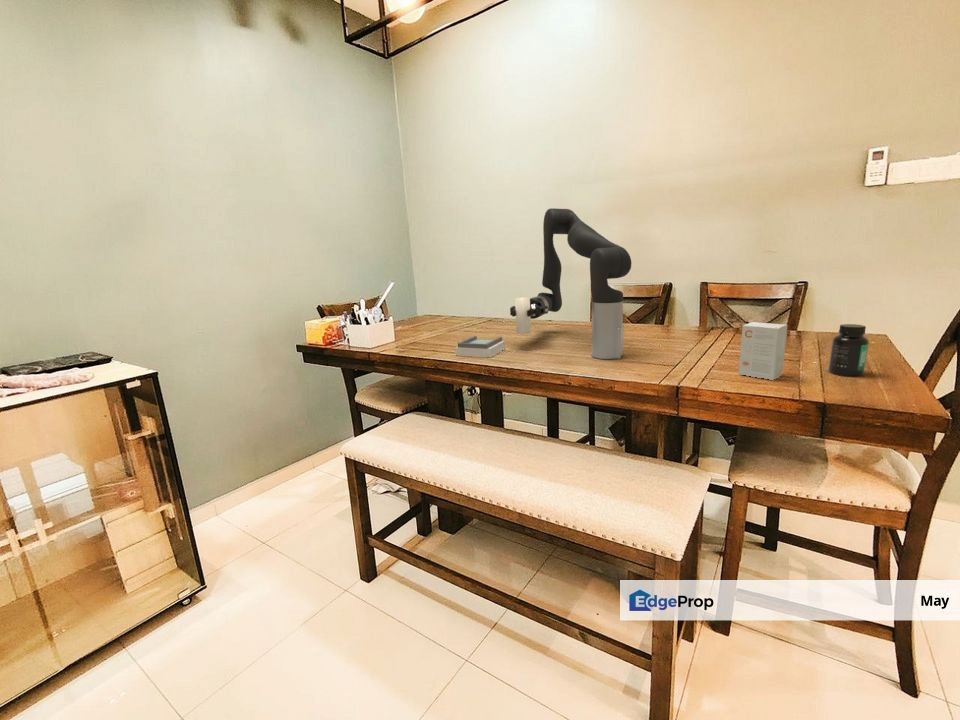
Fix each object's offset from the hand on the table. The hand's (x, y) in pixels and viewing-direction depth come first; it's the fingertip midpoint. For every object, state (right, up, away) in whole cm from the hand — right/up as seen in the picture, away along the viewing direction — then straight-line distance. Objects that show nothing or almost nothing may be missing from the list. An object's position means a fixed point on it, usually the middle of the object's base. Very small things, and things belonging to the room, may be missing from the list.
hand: (520, 313), depth 149 cm
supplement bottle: (+78, -19, -39) cm, 89 cm away
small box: (+57, -20, -38) cm, 71 cm away
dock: (-13, -13, +4) cm, 19 cm away
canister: (+2, -6, +4) cm, 7 cm away
